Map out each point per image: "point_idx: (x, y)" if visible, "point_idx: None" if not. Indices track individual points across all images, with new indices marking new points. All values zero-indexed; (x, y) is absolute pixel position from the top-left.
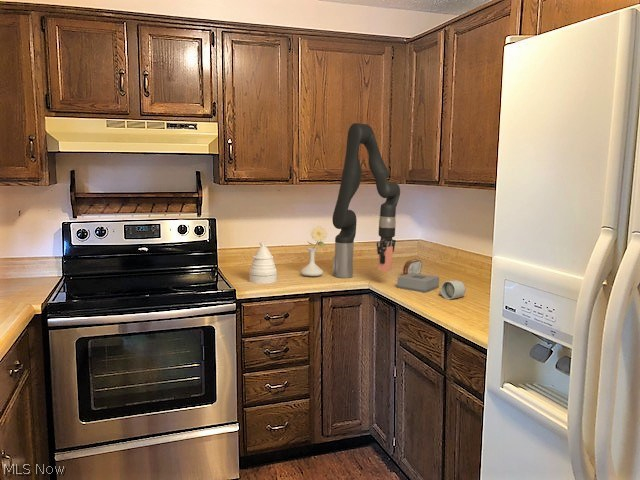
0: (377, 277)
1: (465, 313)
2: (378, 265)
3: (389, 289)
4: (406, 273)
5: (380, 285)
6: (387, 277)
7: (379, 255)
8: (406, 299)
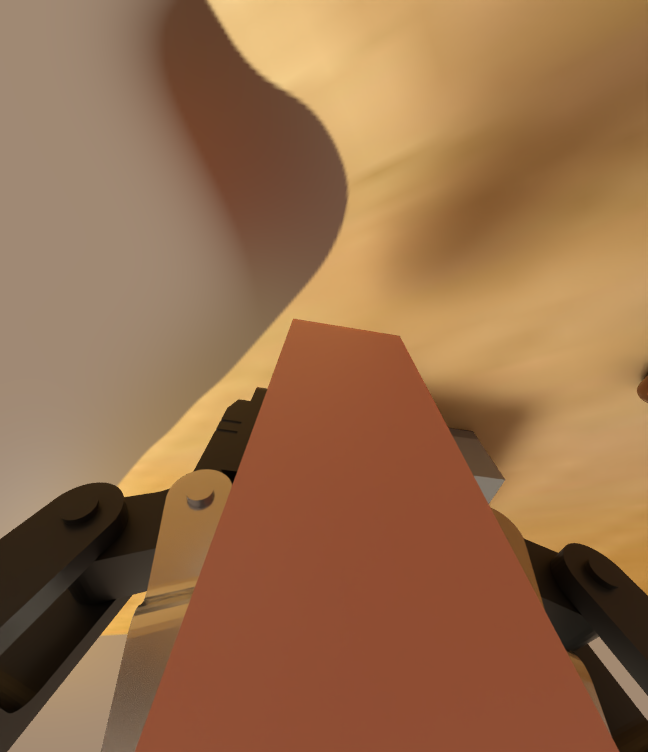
0: (626, 151)
1: (126, 613)
2: (287, 338)
3: (244, 385)
4: (646, 392)
5: (314, 302)
6: (637, 242)
7: (253, 436)
8: (125, 491)
